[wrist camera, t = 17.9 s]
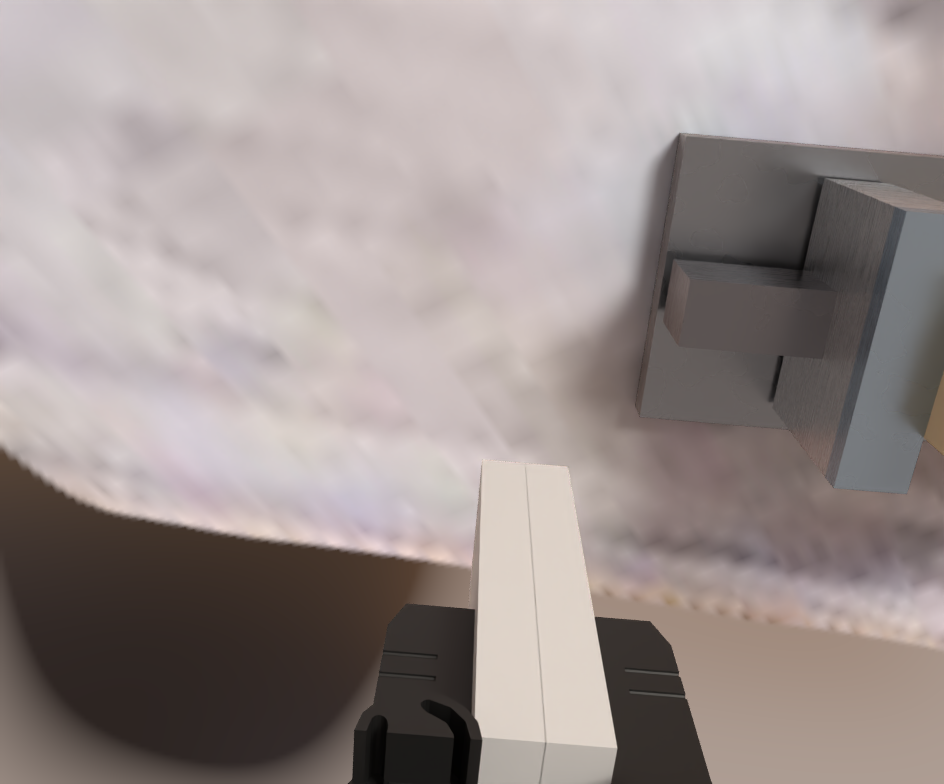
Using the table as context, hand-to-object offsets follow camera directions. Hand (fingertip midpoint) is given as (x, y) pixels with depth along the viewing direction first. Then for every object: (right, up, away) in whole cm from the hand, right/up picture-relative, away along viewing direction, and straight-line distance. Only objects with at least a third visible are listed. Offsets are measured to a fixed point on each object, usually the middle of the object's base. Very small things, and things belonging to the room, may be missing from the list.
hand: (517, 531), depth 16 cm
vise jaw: (+10, +6, +18) cm, 21 cm away
